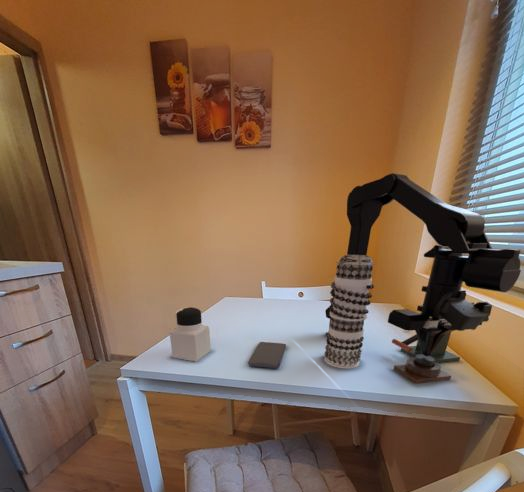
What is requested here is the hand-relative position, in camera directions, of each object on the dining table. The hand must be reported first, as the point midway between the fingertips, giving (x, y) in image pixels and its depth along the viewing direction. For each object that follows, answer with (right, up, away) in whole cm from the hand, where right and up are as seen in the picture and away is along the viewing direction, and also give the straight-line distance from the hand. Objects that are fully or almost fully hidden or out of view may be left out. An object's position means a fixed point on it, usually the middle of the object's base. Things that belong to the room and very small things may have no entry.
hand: (425, 355), depth 61 cm
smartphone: (-34, 0, +11) cm, 36 cm away
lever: (+4, +4, +9) cm, 11 cm away
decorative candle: (-16, -2, +8) cm, 18 cm away
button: (0, -2, +1) cm, 2 cm away
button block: (0, -5, +2) cm, 5 cm away
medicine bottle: (-54, 0, +11) cm, 55 cm away
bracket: (+8, 0, +12) cm, 14 cm away
